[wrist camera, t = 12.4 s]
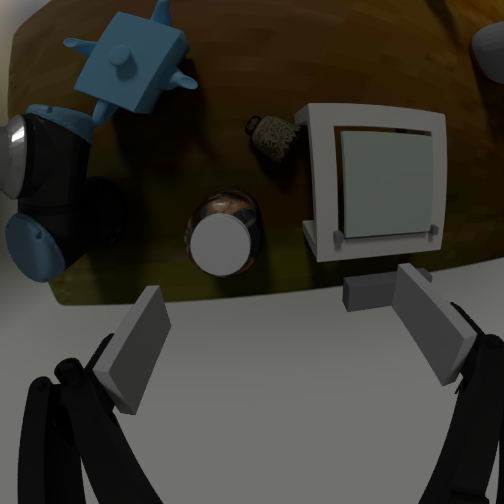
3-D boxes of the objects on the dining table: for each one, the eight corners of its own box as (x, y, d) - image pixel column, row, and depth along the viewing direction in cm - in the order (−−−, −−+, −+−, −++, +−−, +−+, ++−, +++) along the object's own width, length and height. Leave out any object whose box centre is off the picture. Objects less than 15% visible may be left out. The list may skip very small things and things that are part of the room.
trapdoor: (418, 288, 39) (427, 298, 36) (341, 299, 40) (347, 311, 37) (428, 136, 30) (442, 137, 27) (340, 131, 31) (349, 130, 28)
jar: (272, 232, 51) (278, 265, 37) (218, 258, 53) (205, 298, 39) (243, 175, 47) (237, 187, 34) (187, 205, 50) (161, 229, 36)
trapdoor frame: (303, 231, 51) (319, 266, 37) (294, 114, 43) (310, 101, 29) (403, 223, 50) (445, 253, 35) (402, 117, 42) (450, 114, 27)
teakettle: (114, 131, 43) (80, 137, 30) (92, 52, 35) (56, 36, 22) (208, 95, 43) (204, 84, 30) (182, 14, 34) (172, -19, 21)
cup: (260, 115, 45) (299, 137, 45) (238, 147, 46) (278, 170, 46) (261, 97, 38) (306, 121, 38) (235, 132, 38) (282, 158, 38)
